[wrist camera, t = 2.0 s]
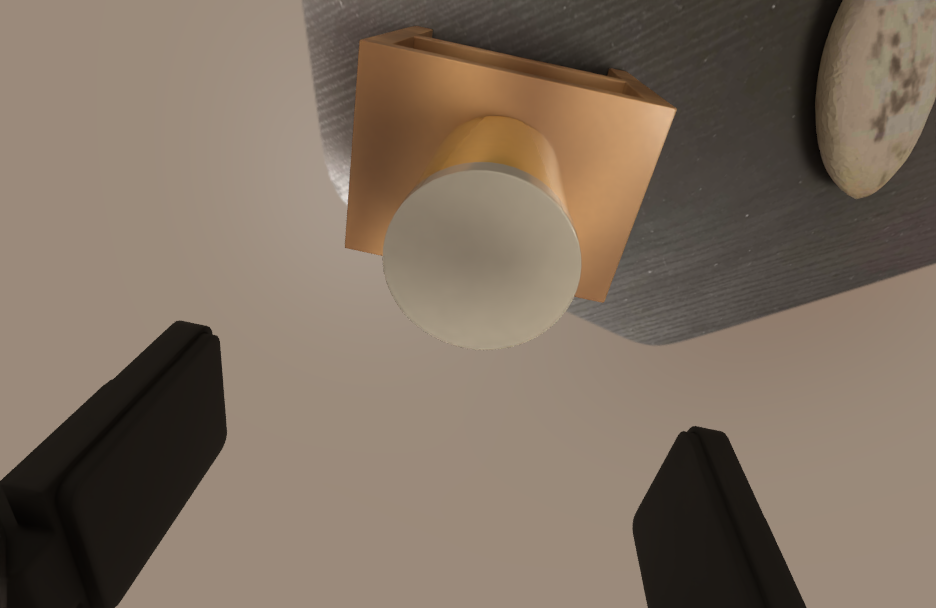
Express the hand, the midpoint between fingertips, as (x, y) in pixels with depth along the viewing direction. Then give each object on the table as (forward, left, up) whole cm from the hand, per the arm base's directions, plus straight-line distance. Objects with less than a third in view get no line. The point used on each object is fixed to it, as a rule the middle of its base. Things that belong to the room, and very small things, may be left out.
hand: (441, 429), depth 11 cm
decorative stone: (+21, +8, -30) cm, 37 cm away
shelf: (0, 0, -30) cm, 30 cm away
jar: (0, 0, -17) cm, 17 cm away
